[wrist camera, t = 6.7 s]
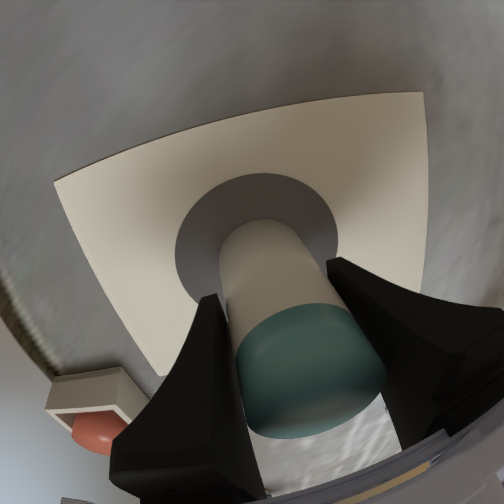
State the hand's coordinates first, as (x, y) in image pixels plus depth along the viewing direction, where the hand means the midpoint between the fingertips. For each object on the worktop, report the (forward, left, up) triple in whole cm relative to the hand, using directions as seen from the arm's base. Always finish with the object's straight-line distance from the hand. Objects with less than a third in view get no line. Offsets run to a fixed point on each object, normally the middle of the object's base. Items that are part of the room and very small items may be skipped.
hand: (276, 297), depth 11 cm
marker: (0, 0, -3) cm, 3 cm away
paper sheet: (-1, 0, -3) cm, 4 cm away
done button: (+13, +8, -1) cm, 15 cm away
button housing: (+13, +8, -3) cm, 16 cm away
